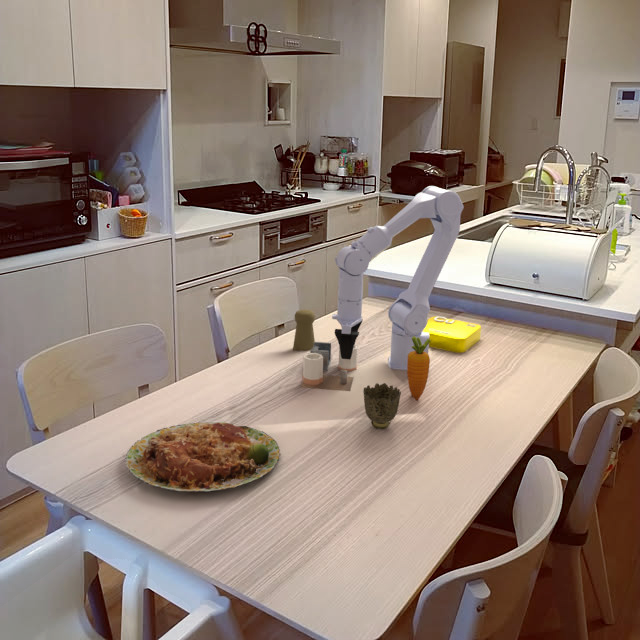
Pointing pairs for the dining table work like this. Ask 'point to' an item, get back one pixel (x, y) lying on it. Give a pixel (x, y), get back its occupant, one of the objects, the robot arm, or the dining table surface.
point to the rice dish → (202, 456)
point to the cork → (304, 330)
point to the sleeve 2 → (348, 361)
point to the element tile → (452, 334)
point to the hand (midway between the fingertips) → (347, 353)
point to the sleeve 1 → (313, 368)
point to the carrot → (418, 368)
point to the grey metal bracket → (323, 353)
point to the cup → (381, 404)
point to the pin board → (334, 382)
